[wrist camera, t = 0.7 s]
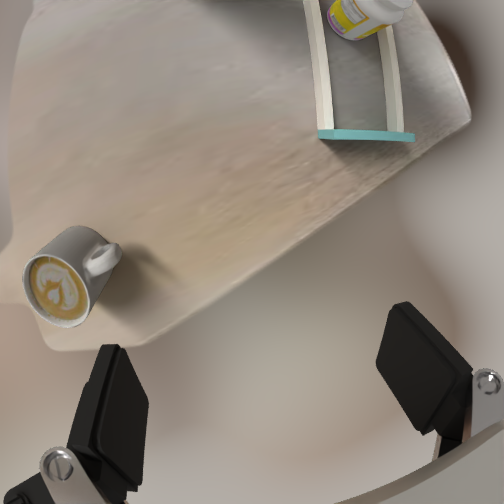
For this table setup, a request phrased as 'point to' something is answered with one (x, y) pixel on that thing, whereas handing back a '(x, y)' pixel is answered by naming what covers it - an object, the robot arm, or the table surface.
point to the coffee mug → (69, 275)
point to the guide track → (324, 88)
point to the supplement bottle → (364, 16)
